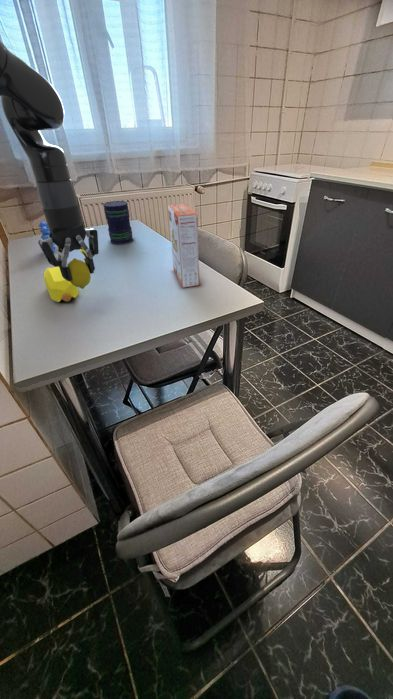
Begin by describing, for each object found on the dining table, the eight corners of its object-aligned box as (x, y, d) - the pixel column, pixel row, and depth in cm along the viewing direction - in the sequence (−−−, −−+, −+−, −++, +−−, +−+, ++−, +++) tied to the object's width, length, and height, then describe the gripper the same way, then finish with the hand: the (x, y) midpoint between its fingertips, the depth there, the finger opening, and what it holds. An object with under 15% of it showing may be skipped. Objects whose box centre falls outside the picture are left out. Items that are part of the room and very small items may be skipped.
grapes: (64, 254, 116) (54, 222, 109) (46, 257, 114) (35, 224, 107) (62, 246, 125) (53, 215, 118) (45, 248, 123) (35, 217, 116)
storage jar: (137, 238, 131) (132, 201, 122) (125, 245, 124) (118, 206, 115) (118, 236, 134) (112, 200, 125) (105, 243, 127) (98, 205, 118)
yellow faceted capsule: (70, 279, 97) (45, 284, 94) (64, 259, 92) (37, 264, 89) (83, 301, 84) (54, 308, 81) (76, 279, 80) (46, 285, 77)
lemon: (89, 293, 75) (81, 262, 70) (68, 293, 75) (59, 262, 70) (96, 283, 79) (89, 254, 74) (76, 284, 79) (67, 254, 75)
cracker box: (172, 271, 100) (167, 204, 87) (189, 269, 101) (186, 202, 88) (180, 288, 89) (176, 214, 76) (200, 286, 90) (198, 212, 77)
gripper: (81, 196, 71) (96, 264, 81) (19, 207, 63) (46, 281, 73) (97, 200, 67) (112, 271, 77) (34, 212, 58) (60, 290, 69)
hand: (80, 276), depth 75 cm, fingers closed on lemon, 5 cm apart
